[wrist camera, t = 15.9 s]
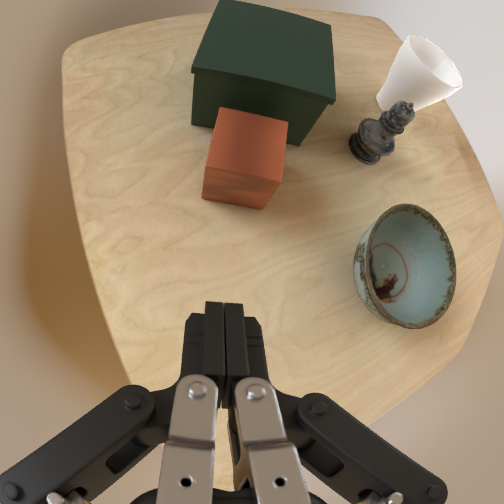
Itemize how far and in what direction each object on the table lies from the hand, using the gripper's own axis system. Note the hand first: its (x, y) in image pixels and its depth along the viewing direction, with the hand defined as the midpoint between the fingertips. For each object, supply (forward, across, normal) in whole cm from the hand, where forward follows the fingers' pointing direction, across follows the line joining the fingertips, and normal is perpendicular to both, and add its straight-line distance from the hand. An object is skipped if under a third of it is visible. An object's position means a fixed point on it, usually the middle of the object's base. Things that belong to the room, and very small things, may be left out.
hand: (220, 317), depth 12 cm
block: (+25, -2, +2) cm, 25 cm away
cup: (+39, -26, -11) cm, 48 cm away
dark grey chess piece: (+31, -20, -3) cm, 37 cm away
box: (+34, -3, -7) cm, 35 cm away
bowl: (+19, -20, +10) cm, 30 cm away
